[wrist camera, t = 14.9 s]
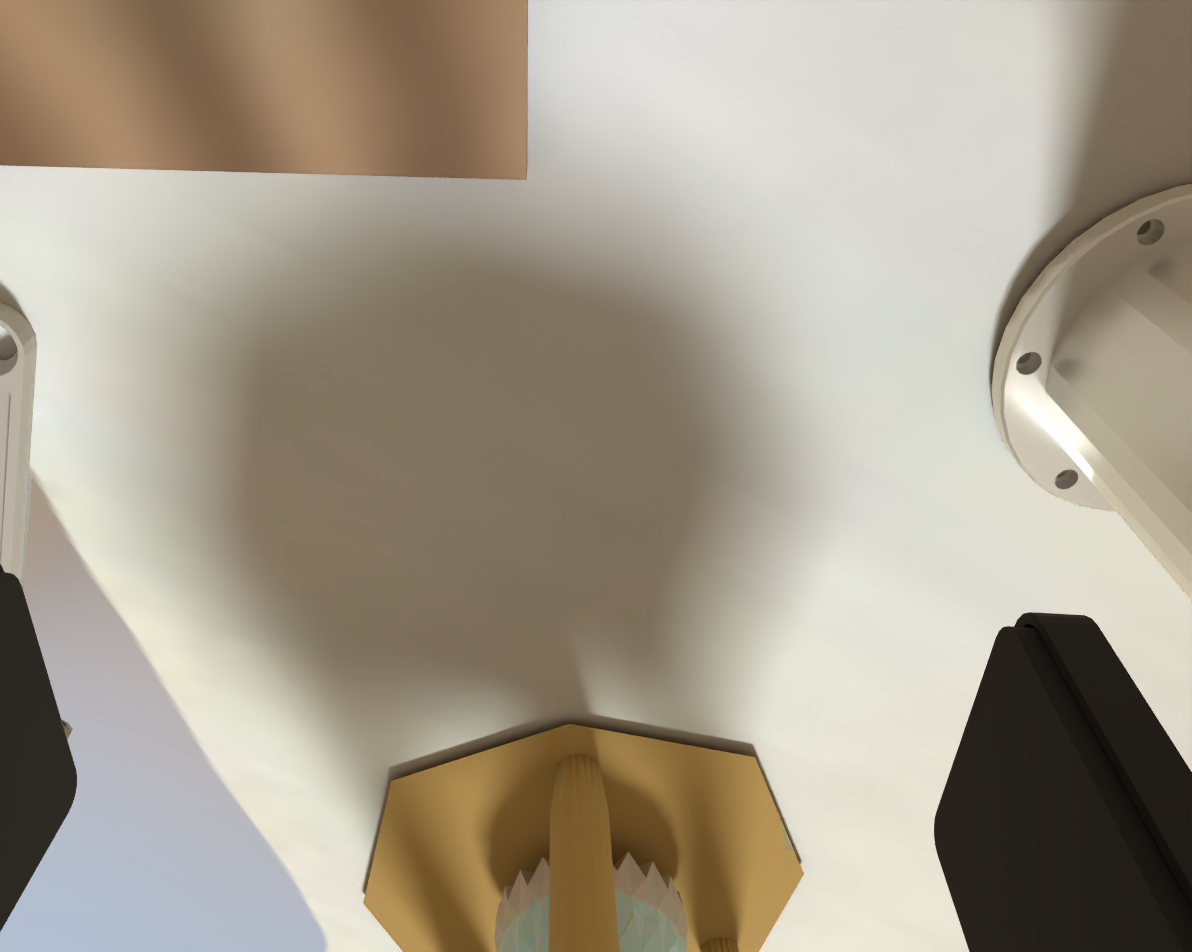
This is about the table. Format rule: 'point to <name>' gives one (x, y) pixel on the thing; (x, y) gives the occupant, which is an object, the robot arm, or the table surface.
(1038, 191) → the table surface
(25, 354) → the adjustable wrench
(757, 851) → the hourglass
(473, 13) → the walnut board
